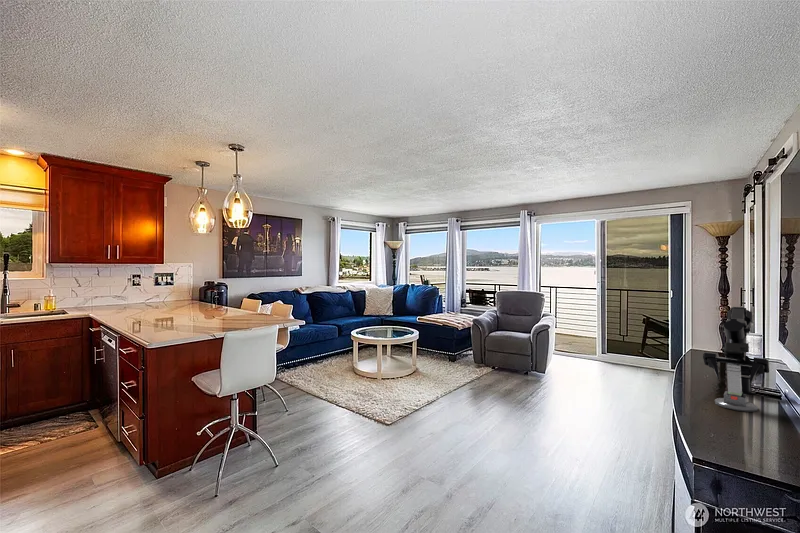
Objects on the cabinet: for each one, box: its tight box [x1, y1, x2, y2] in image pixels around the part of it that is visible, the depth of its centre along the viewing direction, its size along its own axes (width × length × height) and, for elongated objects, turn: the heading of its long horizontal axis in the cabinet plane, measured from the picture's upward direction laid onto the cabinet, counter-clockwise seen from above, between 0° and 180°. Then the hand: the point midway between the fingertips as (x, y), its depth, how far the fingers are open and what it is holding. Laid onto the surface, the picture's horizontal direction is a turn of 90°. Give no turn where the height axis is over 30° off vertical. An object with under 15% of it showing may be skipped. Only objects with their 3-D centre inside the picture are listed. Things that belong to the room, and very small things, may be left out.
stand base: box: [714, 390, 759, 413], centre depth 138 cm, size 12×12×4 cm
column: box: [726, 363, 742, 397], centre depth 139 cm, size 4×4×12 cm
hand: (734, 380), depth 138 cm, fingers open, 9 cm apart
